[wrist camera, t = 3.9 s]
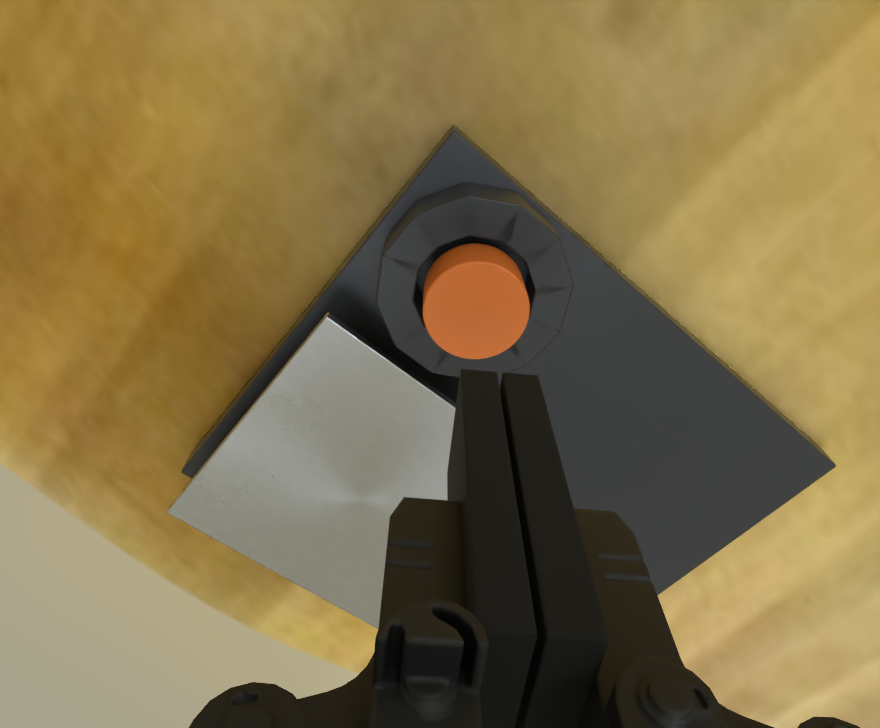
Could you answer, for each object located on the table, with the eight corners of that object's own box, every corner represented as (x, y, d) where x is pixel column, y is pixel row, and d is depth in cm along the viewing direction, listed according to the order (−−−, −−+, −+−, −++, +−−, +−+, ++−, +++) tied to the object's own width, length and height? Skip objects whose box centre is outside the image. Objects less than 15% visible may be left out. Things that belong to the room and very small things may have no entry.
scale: (190, 454, 27) (163, 502, 25) (453, 124, 21) (455, 140, 18) (537, 658, 33) (546, 714, 31) (821, 448, 27) (863, 496, 24)
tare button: (403, 296, 21) (400, 319, 20) (468, 221, 20) (470, 239, 18) (478, 353, 22) (481, 378, 21) (544, 284, 21) (552, 306, 19)
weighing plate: (169, 505, 25) (166, 512, 24) (328, 311, 21) (326, 316, 21) (388, 626, 28) (387, 635, 28) (560, 477, 24) (562, 483, 24)
